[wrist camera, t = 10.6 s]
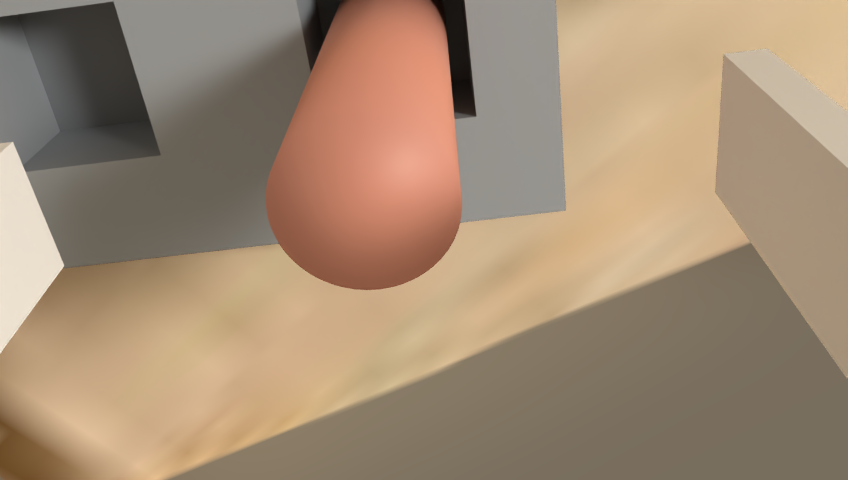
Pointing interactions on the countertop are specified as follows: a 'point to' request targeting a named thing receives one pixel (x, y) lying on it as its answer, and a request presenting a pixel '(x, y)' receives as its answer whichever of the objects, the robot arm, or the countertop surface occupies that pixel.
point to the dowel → (371, 150)
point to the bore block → (241, 114)
